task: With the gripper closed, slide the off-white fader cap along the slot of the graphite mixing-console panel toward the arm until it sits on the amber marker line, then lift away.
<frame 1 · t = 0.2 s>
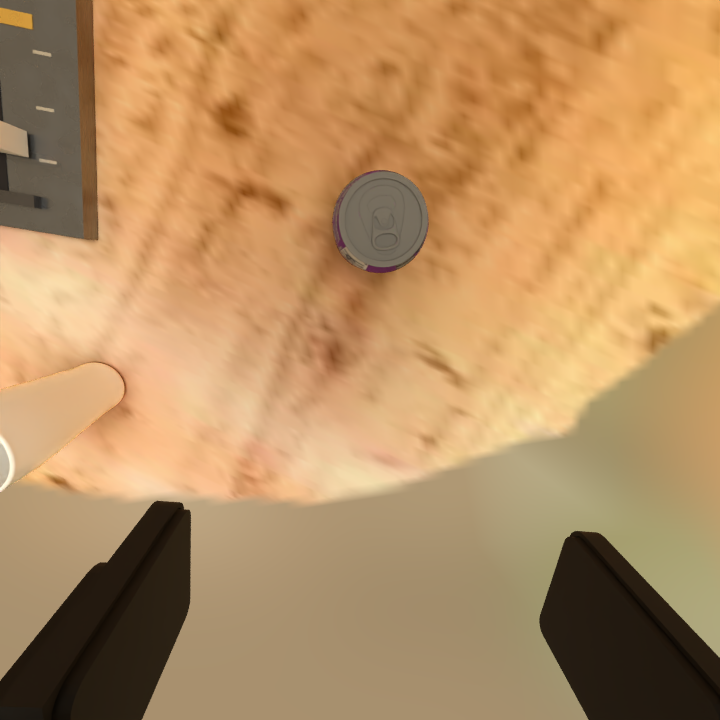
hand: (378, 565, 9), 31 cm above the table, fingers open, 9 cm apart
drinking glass: (102, 383, 39), on the table
beverage can: (369, 233, 36), on the table
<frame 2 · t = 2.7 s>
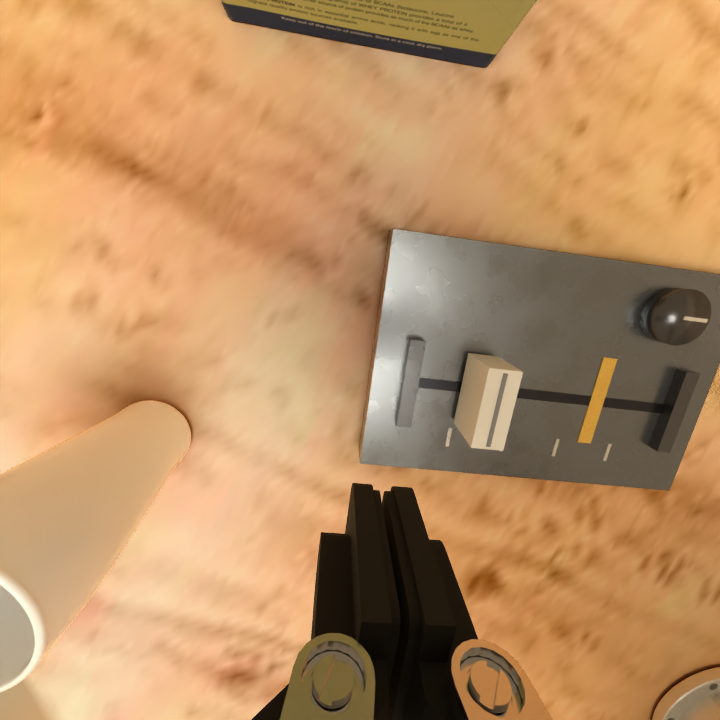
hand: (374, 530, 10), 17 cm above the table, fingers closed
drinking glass: (158, 429, 27), on the table
console: (533, 367, 27), on the table
fader: (485, 400, 23), point 4 cm above the table, slide at 5.0 cm
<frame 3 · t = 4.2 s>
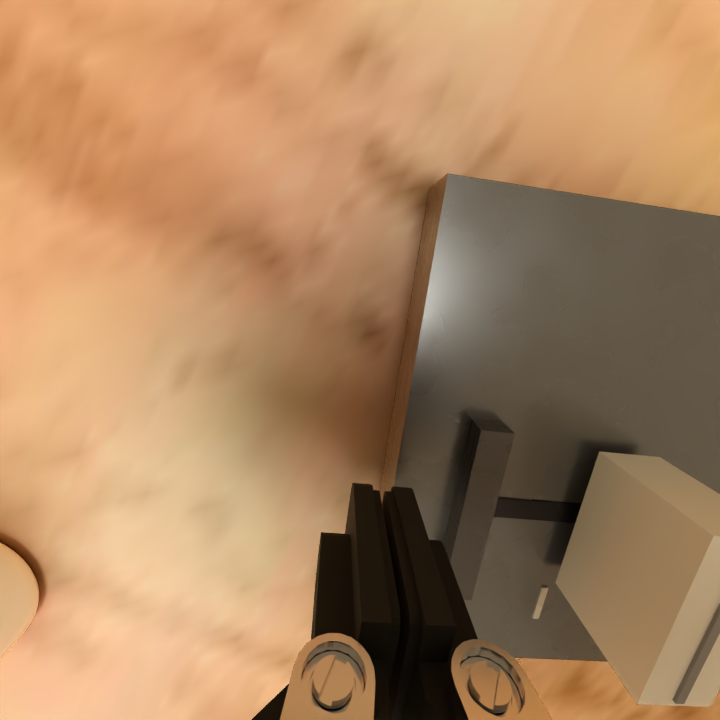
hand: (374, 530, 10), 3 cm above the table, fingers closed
console: (692, 456, 14), on the table
fader: (650, 568, 10), point 4 cm above the table, slide at 5.0 cm
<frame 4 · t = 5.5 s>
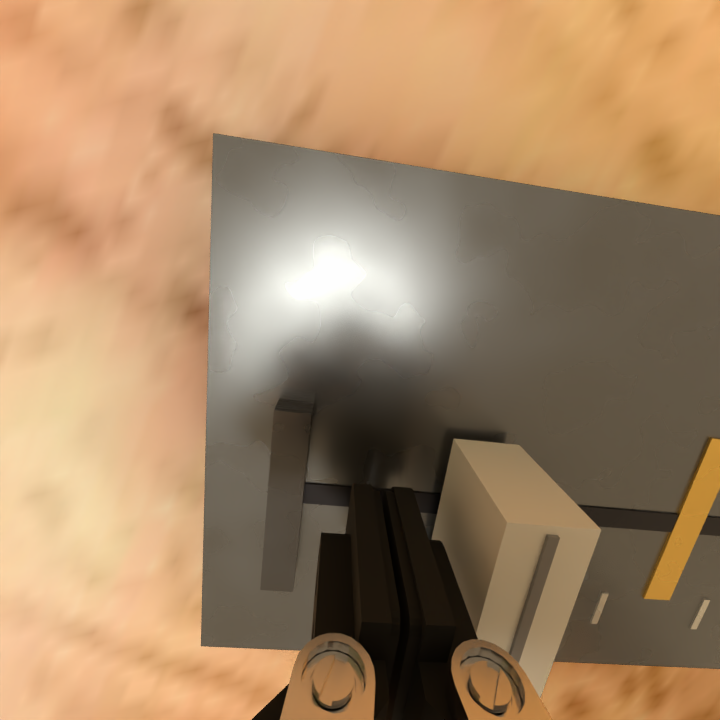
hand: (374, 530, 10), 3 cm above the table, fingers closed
console: (554, 444, 13), on the table
fader: (492, 559, 10), point 4 cm above the table, slide at 3.8 cm, touching gripper
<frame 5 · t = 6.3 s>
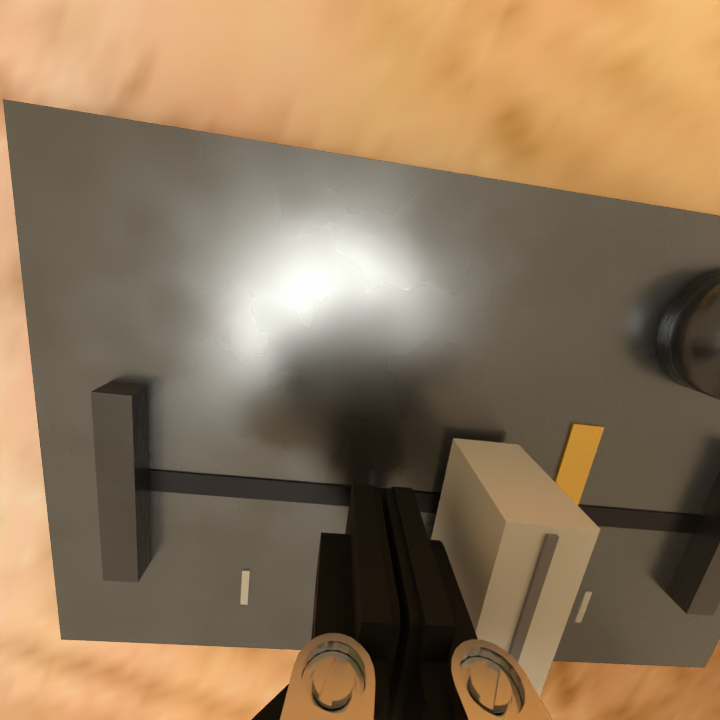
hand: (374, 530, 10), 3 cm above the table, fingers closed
console: (434, 432, 13), on the table
fader: (491, 559, 10), point 4 cm above the table, slide at -0.8 cm, touching gripper
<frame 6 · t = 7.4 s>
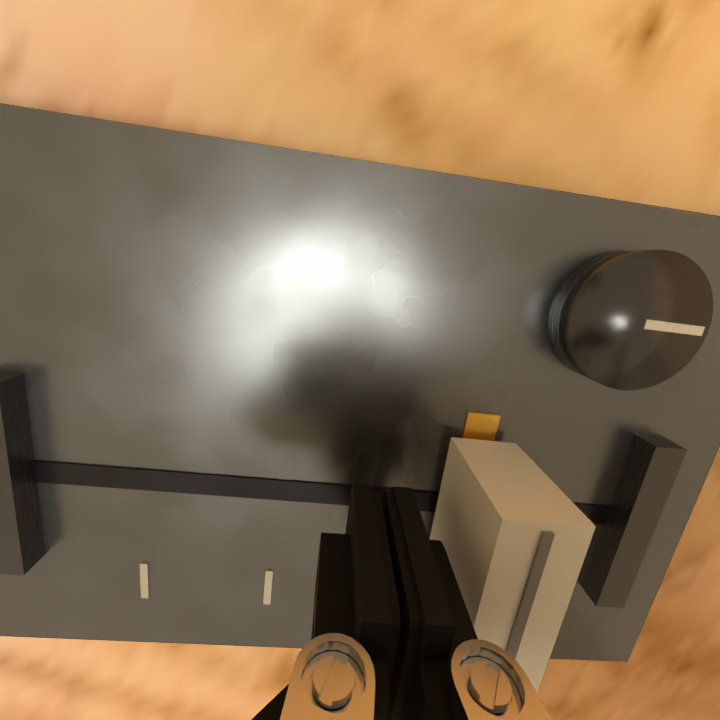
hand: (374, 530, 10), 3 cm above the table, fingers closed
console: (344, 423, 13), on the table
fader: (489, 556, 10), point 4 cm above the table, slide at -4.0 cm, touching gripper
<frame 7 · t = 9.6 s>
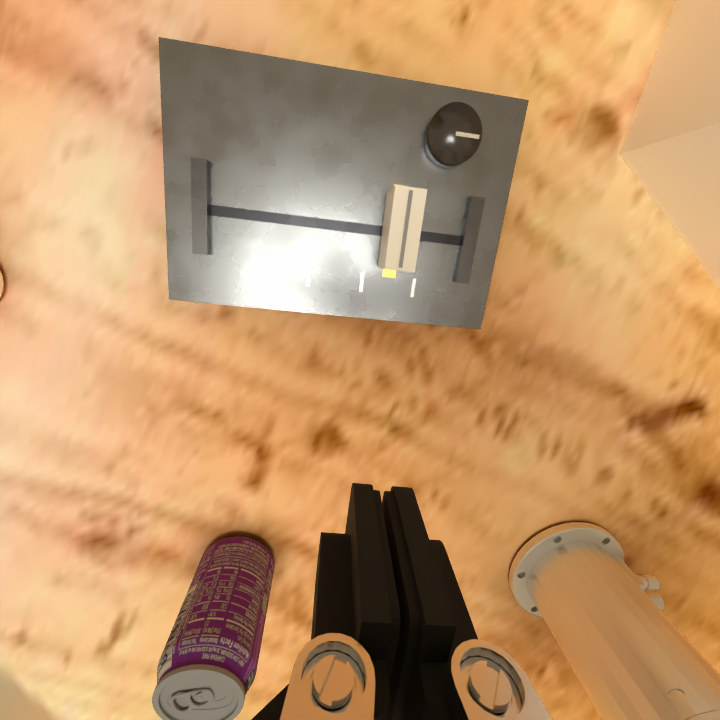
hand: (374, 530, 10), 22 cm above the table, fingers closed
console: (341, 206, 27), on the table
fader: (400, 231, 24), point 4 cm above the table, slide at -4.0 cm
beverage can: (240, 557, 37), on the table
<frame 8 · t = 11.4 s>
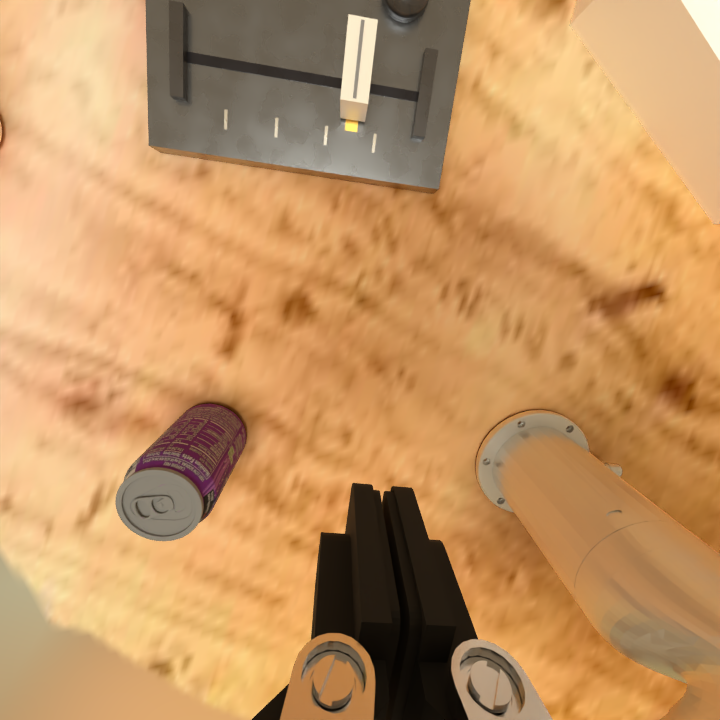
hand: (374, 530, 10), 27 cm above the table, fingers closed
console: (309, 68, 30), on the table
fader: (357, 72, 27), point 4 cm above the table, slide at -4.0 cm
beverage can: (214, 431, 38), on the table
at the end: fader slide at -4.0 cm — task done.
